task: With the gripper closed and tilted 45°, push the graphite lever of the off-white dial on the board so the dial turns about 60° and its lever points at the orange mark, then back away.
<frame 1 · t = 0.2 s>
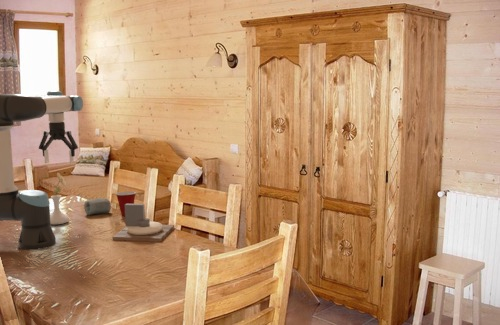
hand: (59, 162, 282), 28 cm above the table, fingers open, 13 cm apart
dial: (143, 217, 250), point 8 cm above the table, hinge at 0.0°
plastic cup: (126, 214, 288), on the table
dial plate: (144, 233, 251), on the table
flower in vase: (58, 223, 272), on the table
rolled towel: (97, 214, 290), on the table
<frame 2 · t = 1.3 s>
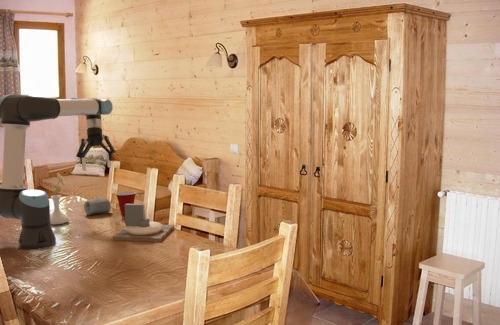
hand: (96, 168, 278), 25 cm above the table, fingers open, 13 cm apart
nothing on the table moved.
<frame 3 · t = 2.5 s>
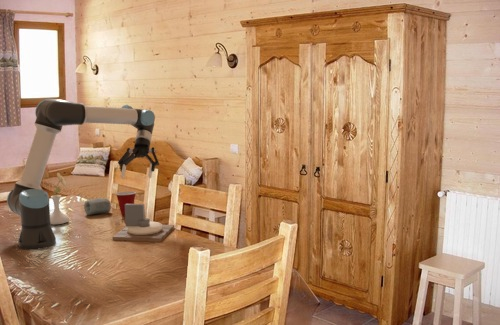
hand: (135, 177, 262), 24 cm above the table, fingers open, 13 cm apart
nothing on the table moved.
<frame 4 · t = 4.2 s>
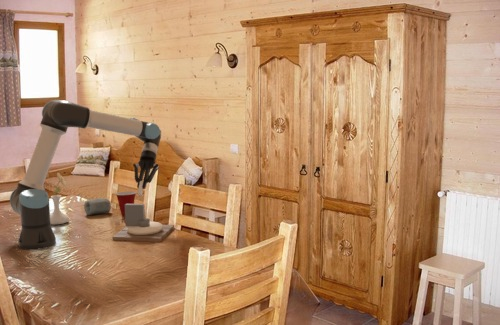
hand: (139, 193, 259), 17 cm above the table, fingers closed
nothing on the table moved.
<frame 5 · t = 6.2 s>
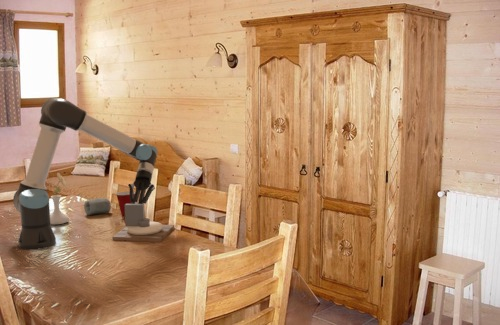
hand: (134, 215, 253), 8 cm above the table, fingers closed
dial: (143, 217, 250), point 8 cm above the table, hinge at 0.9°, touching gripper
everything else where it was.
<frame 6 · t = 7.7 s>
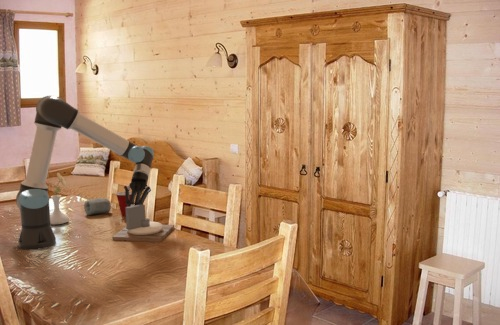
hand: (130, 218, 248), 8 cm above the table, fingers closed
dial: (143, 217, 250), point 8 cm above the table, hinge at 50.1°, touching gripper
everything else where it was.
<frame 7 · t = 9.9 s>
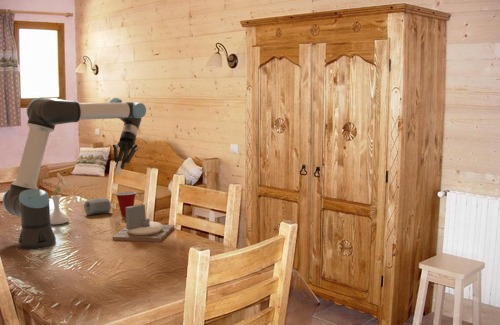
hand: (117, 173, 262), 26 cm above the table, fingers closed
dial: (143, 217, 250), point 8 cm above the table, hinge at 50.2°
everything else where it was.
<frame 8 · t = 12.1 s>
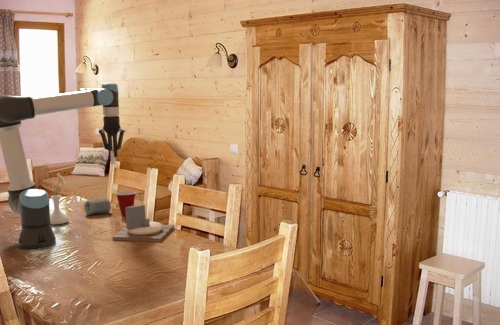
hand: (113, 163, 268), 29 cm above the table, fingers closed
nothing on the table moved.
at the end: dial at +50° (first picture: +0°) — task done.
